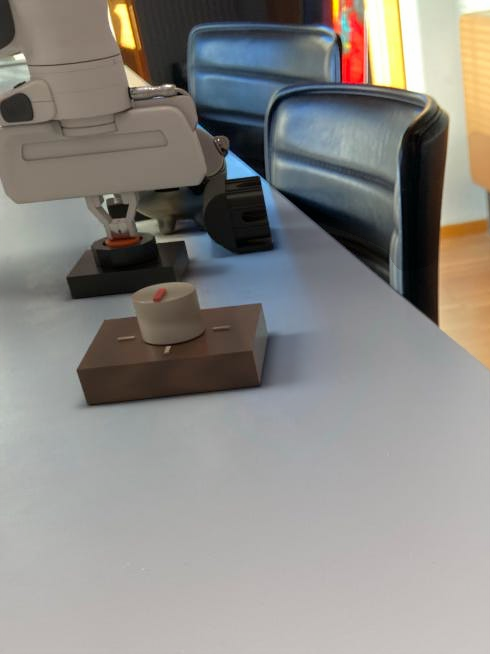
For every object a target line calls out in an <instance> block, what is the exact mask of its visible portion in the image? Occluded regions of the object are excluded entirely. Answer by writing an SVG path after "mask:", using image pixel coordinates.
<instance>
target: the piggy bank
mask: <svg viewBox="0 0 490 654" xmlns="http://www.w3.org/2000/svg"><path fill="white" fill-rule="evenodd" d="M195 131H196V133H197V136H198V139H199V142H200V145H201V148H202V151H203V155H204V158H205V162H206V166H207V173H206V175H205V177H204V179H203V180H202V182H201V183H200V184H199V185H195V186H185V187H176V188H167V189H157V190H148V191H138V193H139V197H140V200H139V204H138V207H137V211H138V212H139V213H141V214H143V215H145V216H148V217H150V218H151V219H153V220H156V224H157V227H158V231H159V233H161V234H162V235H169V234H172V233H174V232H175V230H176V227H177V222H183V221H191V220H192V222H193V224H194V225H195V227H196V228H197V229H199V230H205V227H204V224H203V193H204V190H205V187H206V185H207V183H208V182H209V181H210V180H211V179H212V178H213V177H215V176H217V175H219V174H223V173H224V175H225V179H228V165H227V161H226V157H228V155H229V149H230V140H229V138H228V137H226V136H225V135H216V136H212V135H211V134H210V133H209V132H207V131H205V130H204V129H202V128H200V127H198V126H197V127H196V129H195ZM112 195H113V198H114V197H115V198H116V199H118V200H121V201H122V197H121V193H120V194H112ZM128 205H129V203H128Z"/></svg>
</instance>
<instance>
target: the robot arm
mask: <svg viewBox="0 0 490 654" xmlns="http://www.w3.org/2000/svg"><path fill="white" fill-rule="evenodd" d="M21 54H22V55H23V57H24V59H25V63H26V66H27V69H28V72H29V76H30V77H29V80H27V81H25V80H24V81H22V82H19V83H17V84H16V85H14V86H13V88H11V89H10V90H8V91H5V92H3V93H1V94H0V181H1V185H2V188H3V189H2V190H3V191H4V194H5V195H6V197H8V198H9V199H10V200H11V201H12V202H13V203H15V204H16V205H25V204H34V203H43V202H53V201H63V200H71V199H80V198H81V199H82V198H84V200H85V203H86V204H85V205H86V207H87V209H88V211H89V212H90V213H91V214H92V215H93V216H94V217H95V218H96V219H97V220H98V221H99V222H100V224H102V225H103V227H104V231H105V234H106V237H107V238H108V240H109V241H111V240H119V239H129V238H136V237H137V236H138V232H139V231H138V226H137V223H136V221H135V219H134V217H135V215H136V211H137V207H138V204H139V200H140V197H139V193H138V191H148V190H157V189H167V188H176V187H185V186H195V185H199V184H200V183H201V182H202V180H203V179H204V177H205V175H206V173H207V166H206V162H205V158H204V155H203V151H202V148H201V145H200V142H199V139H198V136H197V133H196V131H195V129H196V127H198V123H199V118H198V114H197V108H196V104H195V101H194V98H193V97H192V96H191V95H190V93H189V92H188V91H186V90H185V89H183V88H180V87H177V86H176V84H173V83H164V84H161V85H154V86H153V85H152V86H150V85H144V86H133V87H130V83H129V79H128V76H127V73H126V67H125V63H124V60H123V56H122V52H121V48H120V45H119V44H118V42H117V40H116V38H115V36H114V33H113V31H112V29H111V26H110V21H109V1H108V0H0V58H4V57H6V58H7V57H15V56H17V55H21ZM178 94H181V95H178ZM120 193H121V197H122V201H123V203H124V204H128V203H129V208H128V211H127V215H126V218H121V219H112V218H111V216H110V215H109V213H108V211H106V209H105V208H104V207H103V204H104V202H105V198H104V196H107V195H108V196H109V195H113V194H120Z"/></svg>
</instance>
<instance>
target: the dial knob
mask: <svg viewBox="0 0 490 654" xmlns="http://www.w3.org/2000/svg"><path fill="white" fill-rule="evenodd" d="M131 300H132V305H133V309H134V312H135V317H136V316H137V320H138V323H139V327H140V331H141V334H142V338H143V340H144V341H145V342H147V343H150V344H157V345H166V344H175V343H180V342H184V341H188V340H191V339H193V338H195V337H198V336H199V335H201V334H202V333H203V332H204V331H205V326H204V321H203V317H202V313H201V305H200V301H199V297H198V293H197V288H196V286H195V285H194V284H192V283H189V282H182V281H180V282H171V283H162V284H157V285H153V286H149V287H146V288H143V289H141V290H139V291H137V292H133V294H132V295H131Z"/></svg>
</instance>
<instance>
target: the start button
mask: <svg viewBox="0 0 490 654" xmlns="http://www.w3.org/2000/svg"><path fill="white" fill-rule="evenodd" d="M139 241H141V240H140V237H139V236H137V237H136V238H129V239H119V240H111V241H109V240H108V239H107V240H106V241H105V244H106V246H109V247H116V246H125V245H130V244H134V243H137V242H139Z"/></svg>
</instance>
